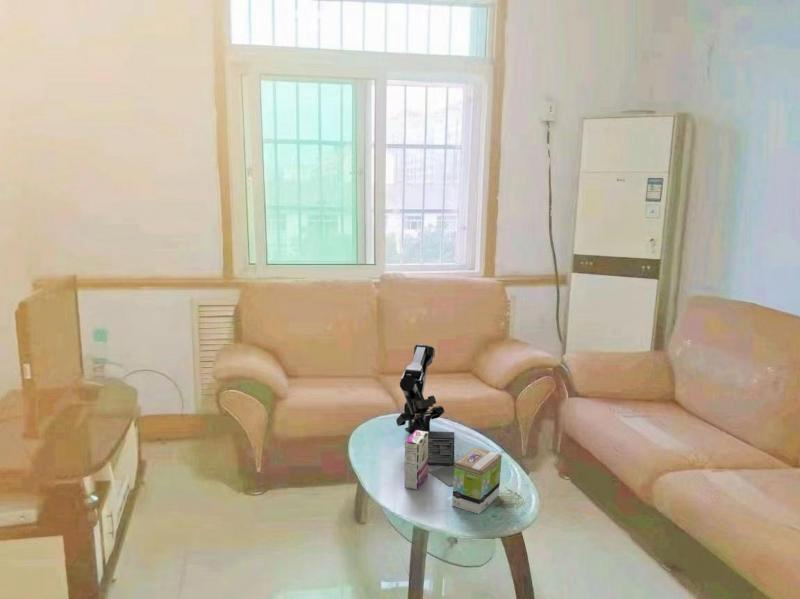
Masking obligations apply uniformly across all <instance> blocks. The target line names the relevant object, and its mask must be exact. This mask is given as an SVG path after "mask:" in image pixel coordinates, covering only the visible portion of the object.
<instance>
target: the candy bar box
mask: <svg viewBox="0 0 800 599" xmlns="http://www.w3.org/2000/svg"><path fill="white" fill-rule="evenodd" d="M428 433H429V432H426V431H420V430H415V432H414V433H413V434H412V433H411V435H410V436H409V437H408V438H407V439H406V441H405V442H404V445H405V446H404V488H406V489H410V490H417V491H418V490H419V489H420V487H421V486H422V485H423V483H424V481H425V480H426V479H427V478H428V476H429V475H428V473H429V471H428V470H429V464H428Z"/></svg>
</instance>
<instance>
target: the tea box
mask: <svg viewBox="0 0 800 599" xmlns="http://www.w3.org/2000/svg"><path fill="white" fill-rule="evenodd" d="M502 457H503V456H502V454H500V453H498V452H494V451H489V450H486V449H482V448H480V447H476V446H475V447H473V448H472V449H471V450H470V451H468V452H467V453H466V454H464V455H463V456H462V457H460V458H459V459H458V460H456V461H454V465H455V468H454V482H453V485H452V500H451V506H453V507H455V508H458V509H461V510H463V511H467V512H470V511H471V512H470V513H473V512H474V513H473V514H476V513H477V515H480V514H481V513H482V512H483V511H484V510H485V509H486V508H488V507H489V505H490V504H492V503H493V501H495V500H496V499H497V498H498V497H499V495H500V483H501V473H502V472H501V471H502V470H501V469H502V468H501V467H502ZM497 496H498V497H497ZM495 498H496V499H495Z"/></svg>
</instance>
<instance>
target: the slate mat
mask: <svg viewBox="0 0 800 599" xmlns="http://www.w3.org/2000/svg"><path fill="white" fill-rule="evenodd" d="M454 468H455V464H454V465H447V466H444V467H440V468H437V469H433V470H429V471H428V473H430V474H431V475H433V476H434V477H436V479H437V480H439V481H440V482H442V483H443V484H445V485H446V486H447V487H453V482H454Z"/></svg>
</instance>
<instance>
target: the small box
mask: <svg viewBox="0 0 800 599" xmlns="http://www.w3.org/2000/svg"><path fill="white" fill-rule="evenodd" d="M426 432H429V433H428V465H436V466H437V465H439V466H452V465H455V431H434V430H433V431H432V430H430V431H426Z"/></svg>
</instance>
